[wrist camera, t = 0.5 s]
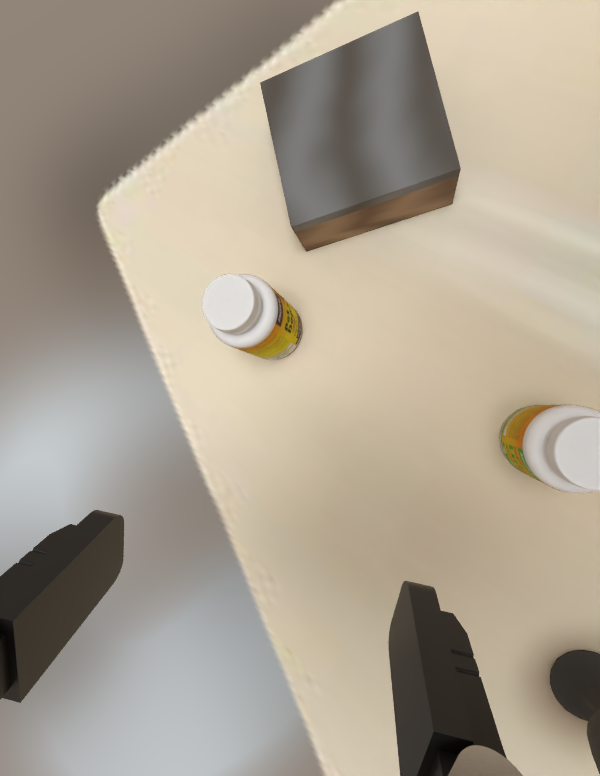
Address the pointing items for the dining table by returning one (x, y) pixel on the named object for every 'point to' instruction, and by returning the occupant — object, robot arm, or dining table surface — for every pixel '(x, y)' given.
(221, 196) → the dining table surface
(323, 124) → the block
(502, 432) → the supplement bottle
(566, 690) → the sundae
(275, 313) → the supplement bottle
